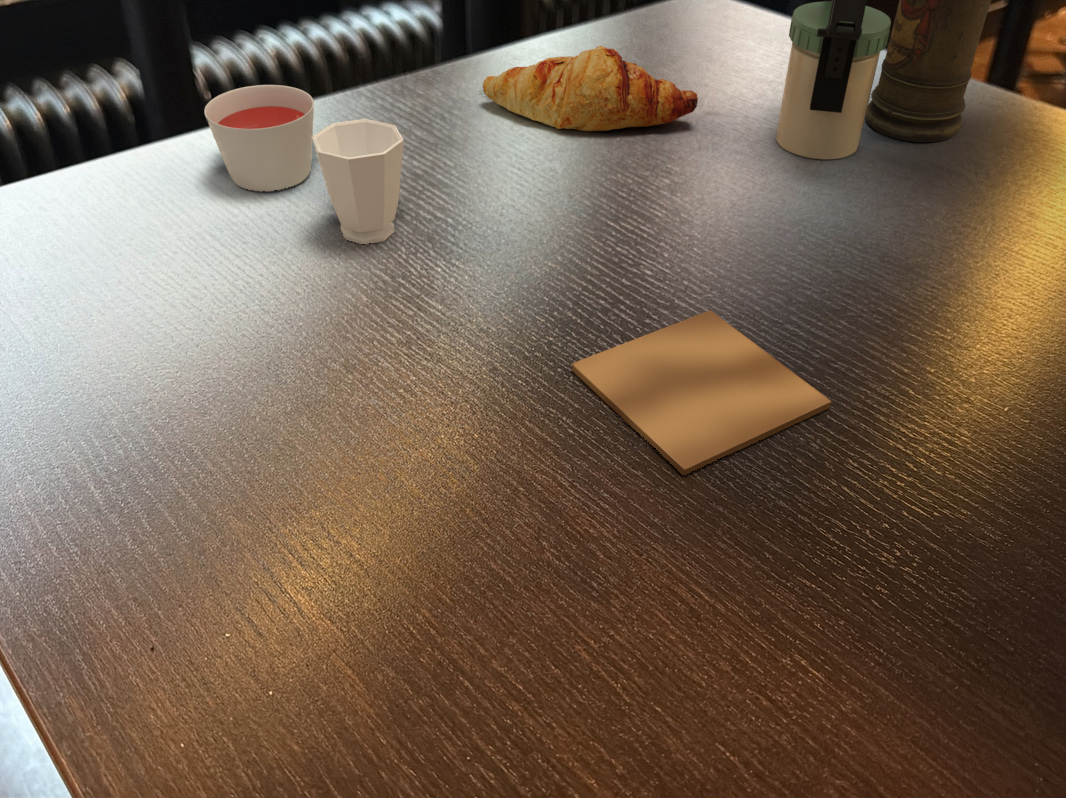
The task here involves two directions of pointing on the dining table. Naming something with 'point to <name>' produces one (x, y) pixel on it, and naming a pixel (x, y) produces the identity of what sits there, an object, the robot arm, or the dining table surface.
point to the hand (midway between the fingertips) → (825, 89)
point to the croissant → (589, 93)
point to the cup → (362, 176)
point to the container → (927, 69)
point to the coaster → (699, 390)
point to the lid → (817, 17)
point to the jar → (823, 129)
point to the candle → (263, 135)
